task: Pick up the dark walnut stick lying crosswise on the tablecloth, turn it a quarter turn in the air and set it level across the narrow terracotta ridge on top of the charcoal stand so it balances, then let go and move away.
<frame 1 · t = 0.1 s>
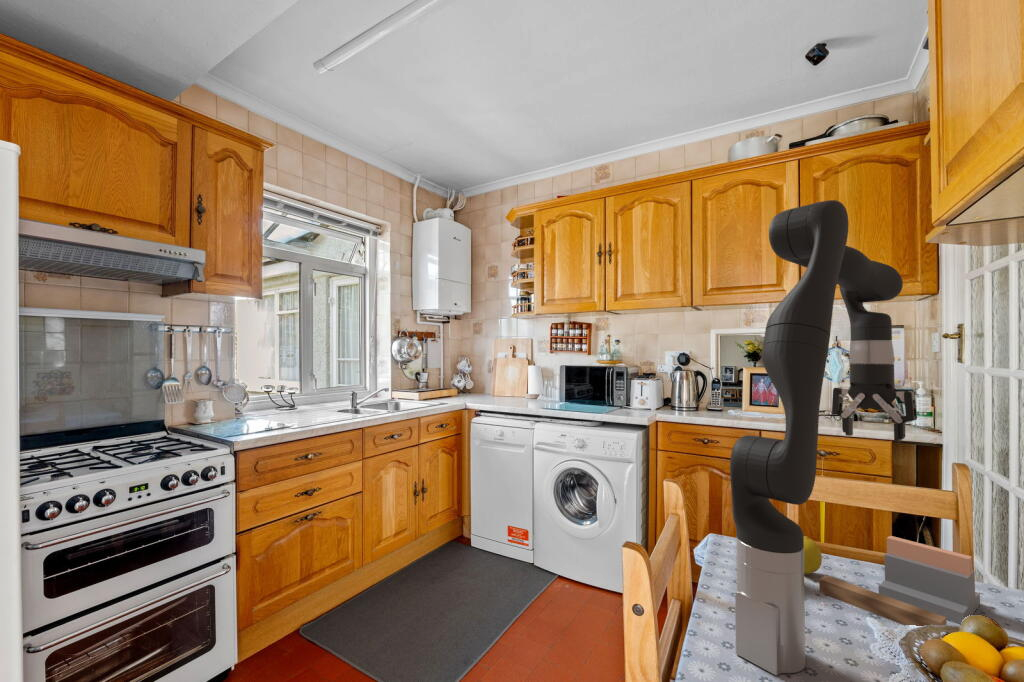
hand: (872, 438, 99), 29 cm above the table, tool pointing down, fingers open, 8 cm apart
fulcrum stand: (928, 599, 88), on the table
walnut stick: (878, 613, 84), on the table
lemon: (806, 575, 99), on the table
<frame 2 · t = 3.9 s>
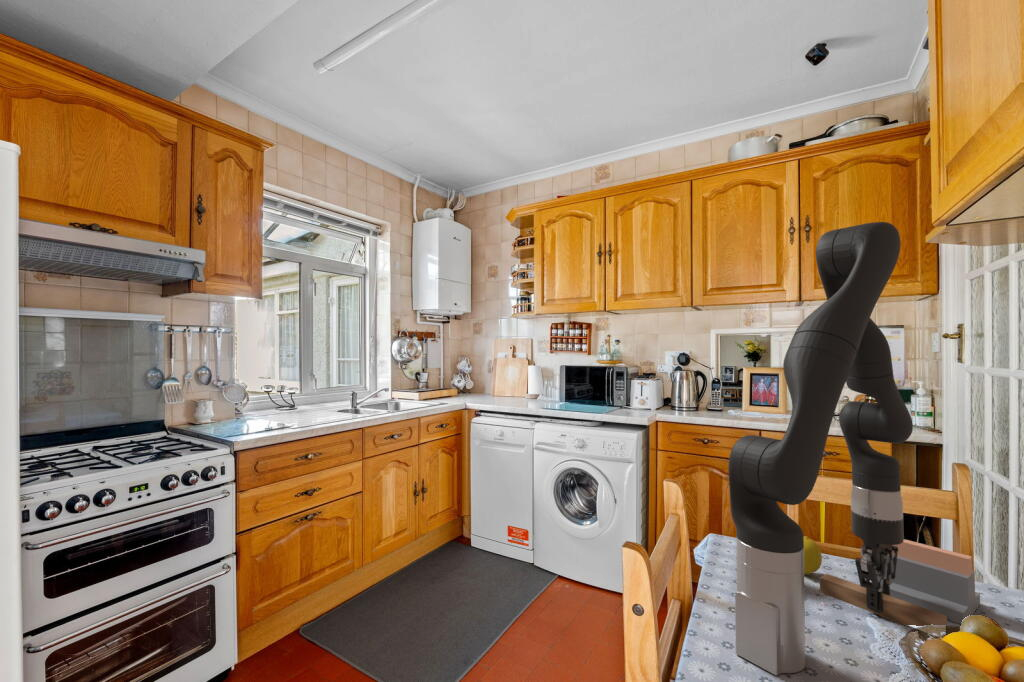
hand: (878, 607, 84), 1 cm above the table, tool pointing down, fingers closed on walnut stick, 3 cm apart
walnut stick: (878, 611, 84), on the table, touching gripper
everything else where it was.
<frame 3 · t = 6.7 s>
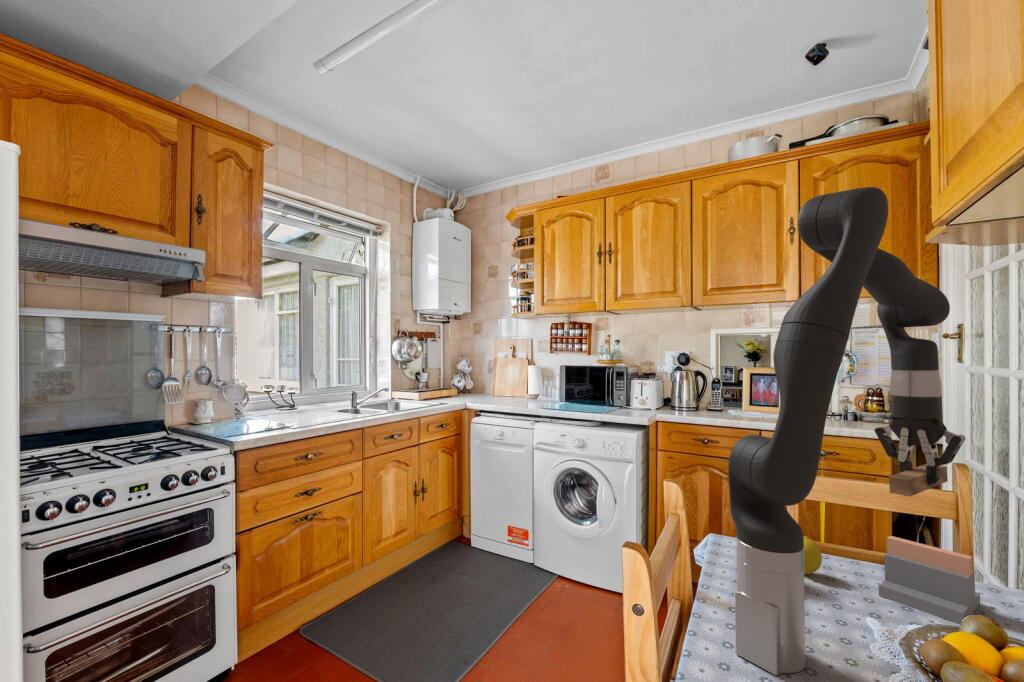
hand: (919, 482, 89), 22 cm above the table, tool pointing down, fingers closed on walnut stick, 3 cm apart
walnut stick: (919, 486, 89), point 21 cm above the table, touching gripper
everything else where it was.
when the fingers open (12 cm above the table, at t = 9.5 s): walnut stick drops 1 cm, resting on fulcrum stand.
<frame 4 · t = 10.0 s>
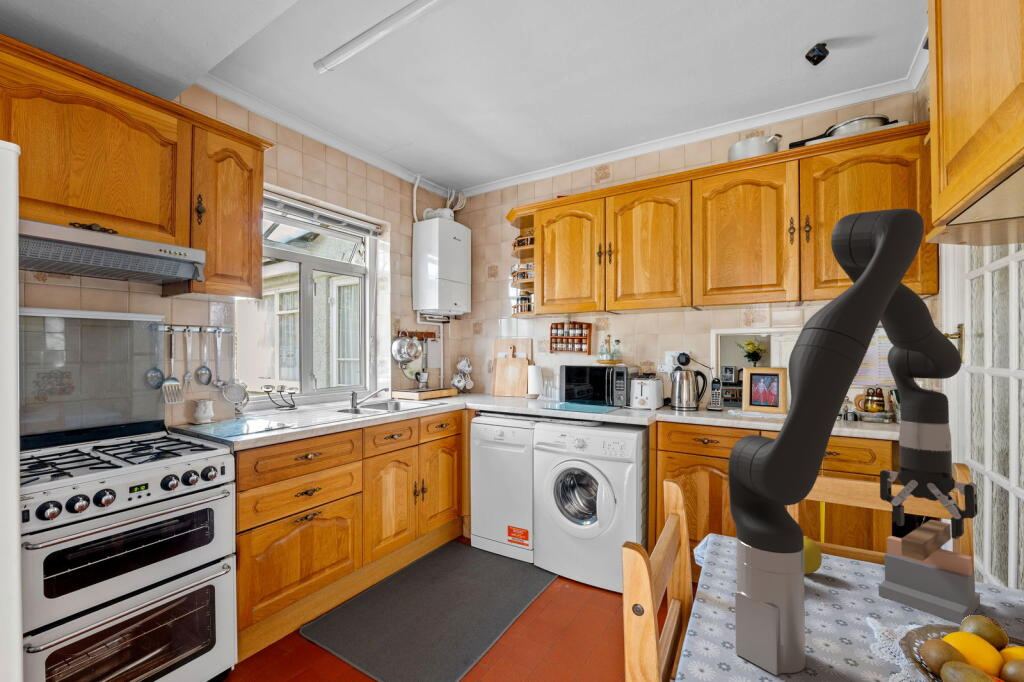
hand: (926, 531, 89), 13 cm above the table, tool pointing down, fingers open, 7 cm apart
walnut stick: (927, 546, 89), point 10 cm above the table, touching fulcrum stand
everything else where it was.
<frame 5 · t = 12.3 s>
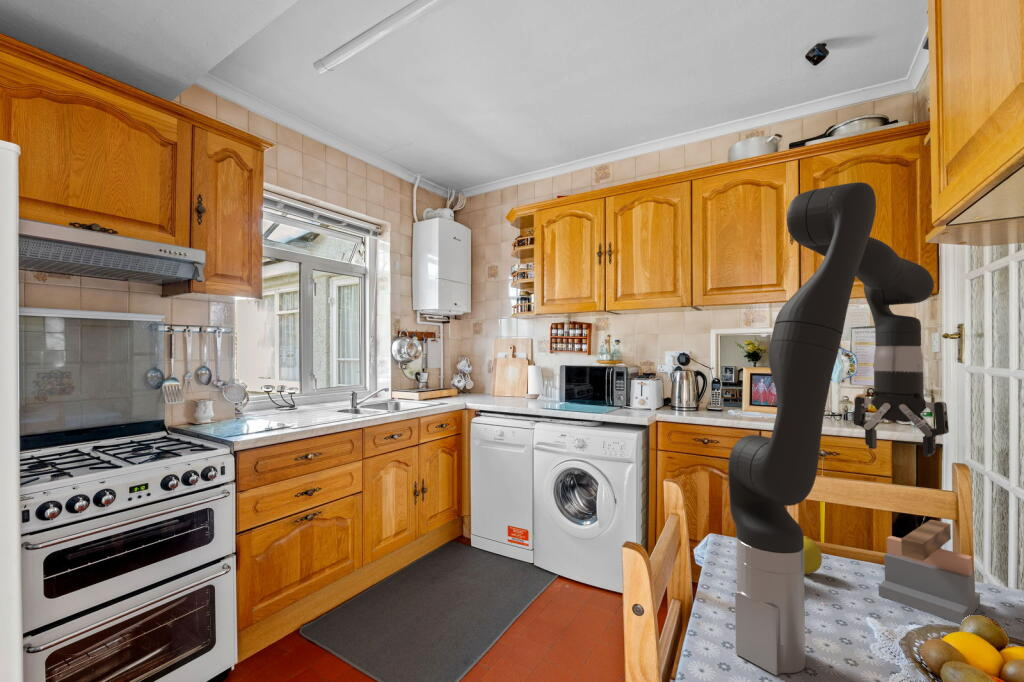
hand: (898, 452, 91), 28 cm above the table, tool pointing down, fingers open, 8 cm apart
nothing on the table moved.
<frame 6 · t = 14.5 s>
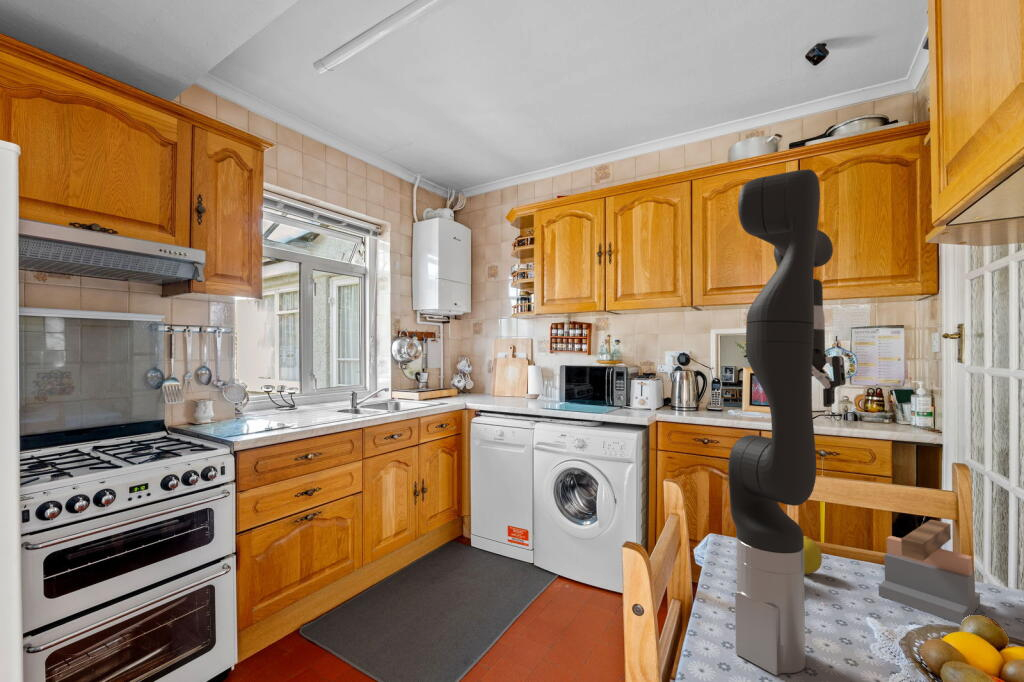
hand: (804, 405, 98), 36 cm above the table, tool pointing down, fingers open, 8 cm apart
nothing on the table moved.
at the end: walnut stick inside the target area on the fulcrum stand (0.0 cm from its centre), point 10.0 cm above the fulcrum stand's base; walnut stick tilted 0°; the gripper is holding nothing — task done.
